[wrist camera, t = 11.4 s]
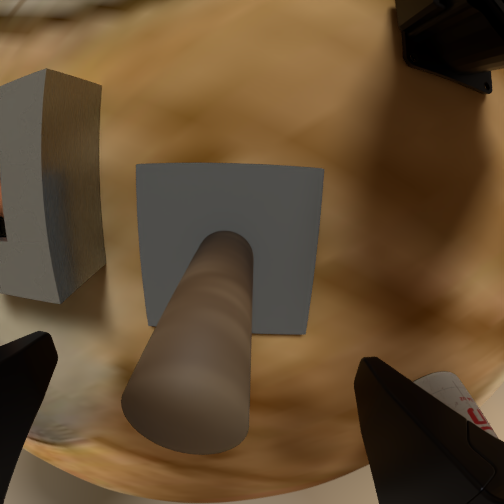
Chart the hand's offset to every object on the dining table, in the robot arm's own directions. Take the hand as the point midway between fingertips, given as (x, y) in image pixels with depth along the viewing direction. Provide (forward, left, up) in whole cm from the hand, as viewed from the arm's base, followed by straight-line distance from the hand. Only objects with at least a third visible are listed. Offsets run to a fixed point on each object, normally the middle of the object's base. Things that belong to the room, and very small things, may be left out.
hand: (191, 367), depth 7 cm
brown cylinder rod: (0, 0, -8) cm, 8 cm away
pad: (0, 0, -9) cm, 9 cm away
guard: (+12, -4, -9) cm, 15 cm away
